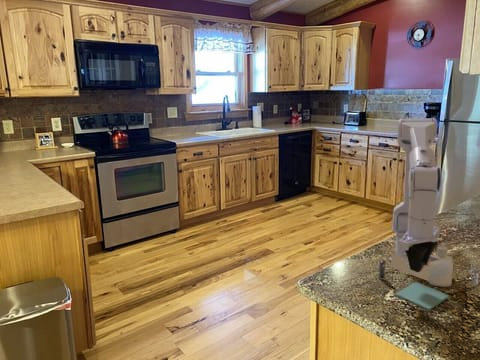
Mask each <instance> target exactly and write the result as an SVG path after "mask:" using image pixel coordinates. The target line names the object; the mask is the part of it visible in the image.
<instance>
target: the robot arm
mask: <svg viewBox="0 0 480 360" xmlns="http://www.w3.org/2000/svg"><path fill="white" fill-rule="evenodd" d="M437 133H438V120H437V119H436V118H435V117H431V118H402V117H400V118H399V119H398V122H397V138H396V139H397V141H396V143H397V146H399V147H400V148H403V150H404V153H405V160H404V161H405V163H404V164H405V165H404V184H403V185H404V186H403V201H402V202H401V203H399V204H397V205H395V206H394V208H393V209H392V210H393V211H392V219H391V221H392V223H391V228H392V232H393V233H396V237H395V252H394V253H399V252H402V253H405V252H406V254H407V257H408V261H409V266H410V270H413V271H415V272H419V271H420V269H421V265H422V262H425V263H428V260H429V258H430V255H432V253H433V251H434V250H435V249H436V247H438V244H439V243H438V241H439V236H440V233H441V227H438V226H436V225H435V223H436V213H437V211H436V210H437V202H438V201H437V198H438V193H439V192H440V191H441V187H442V177H443V176H442V169H441V167H440V166H439V165H438V164H437V163H436V156H435V152H434V150H433V149H432V148H431V147H432V145H433V144H434V141H435V139H436V138H437ZM391 259H392V256H391V257H389V259H388V260H389V261H390V262H391Z"/></svg>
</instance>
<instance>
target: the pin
mask: <svg viewBox="0 0 480 360" xmlns="http://www.w3.org/2000/svg"><path fill="white" fill-rule="evenodd" d="M378 263H379V273H378V274H379V275H378V278H379V277H381V278H384V279H385V270H386V263H387V262H386V260H383V259H379V261H378Z"/></svg>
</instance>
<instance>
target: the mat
mask: <svg viewBox="0 0 480 360" xmlns="http://www.w3.org/2000/svg"><path fill="white" fill-rule="evenodd" d="M396 295H397V296H396ZM395 296H396V297H398V296H399V297H398V298H400V297H401V299H402V298H403V300H404V299H406V300H408V301H407V302H409V301H410V302H409V303H411V304H413V305H416V306H417V307H420V308H423V309H424V310H426V311H429V312H430V311H431V310H432V309H434V308H435V307H437V306H438V305H439V304H441V303H442V302H444V301H445V300H447V299H449V298H450V295H449V294H447V293H445V292H442V291H439V290H437V289H434V288H432V287H429V286H427V285H424V284H423V283H420V282H417V281H415V282H412V283H411V284H409V285H408V286H407V287H405V288H403V289H401V290H399V291H398V292H396V293H395ZM406 300H405V301H406Z"/></svg>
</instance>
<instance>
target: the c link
mask: <svg viewBox="0 0 480 360" xmlns="http://www.w3.org/2000/svg"><path fill="white" fill-rule="evenodd" d="M434 255H435V254H431V255H430V258H429V260H428V263H425V262H422V265H421V269H420V271H419V272H415V271H413V270H410V266H409V261H408V257H407V254H406V252H405V253H402V252H399V253H395V252H394V253H392V254H391V257H392V259H391V261H390V267H391V269H395V270H396V271H401V272H403V273H406V274H408V275H411V276H414V277H417V278H419V279H422V280H425V281H427V282H428V281H429V280H432V279H435V278H438V277H441V276H444V275H447V274H449V271H450V264H451V260H447V259H444V258H441V257H438V256H434Z"/></svg>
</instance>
